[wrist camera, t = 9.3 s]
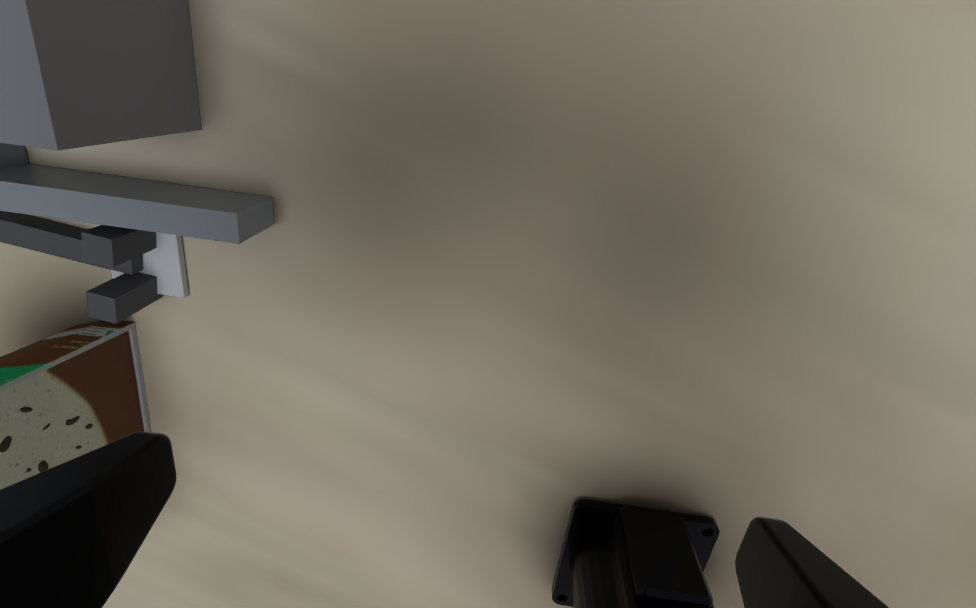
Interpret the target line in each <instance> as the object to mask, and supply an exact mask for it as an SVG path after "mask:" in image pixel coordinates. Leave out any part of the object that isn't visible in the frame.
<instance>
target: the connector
mask: <svg viewBox="0 0 976 608" xmlns="http://www.w3.org/2000/svg"><path fill="white" fill-rule="evenodd" d="M201 129H202V128H201V118H200V109H199V99H198V89H197V80H196V70H195V60H194V51H193V41H192V32H191V22H190V12H189V3H188V0H0V143H6V144H13V145H21V146H28V147H36V148H43V149H51V150H64V149H71V148H78V147H85V146H92V145H98V144H105V143H112V142H119V141H126V140H133V139H140V138H146V137H153V136H160V135H167V134H174V133H181V132H187V131H194V130H201Z"/></svg>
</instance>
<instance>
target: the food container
mask: <svg viewBox="0 0 976 608" xmlns="http://www.w3.org/2000/svg"><path fill="white" fill-rule="evenodd" d="M144 431H145V432H151V426H150V420H149V413H148V406H147V400H146V393H145V386H144V380H143V373H142V366H141V360H140V353H139V346H138V339H137V333H136V326H135V322H128V321H120V322H119V323H117V324H115V323H111V322H107V321H98V322H93V323H88V324H83V325H77V326H74V327H72V328H69V329H67V330H65V331H62V332H60V333H57V334H55V335H53V336H50V337H48V338H45V339H43V340H41V341H38V342H36V343H33V344H31V345H29V346H26V347H24V348H22V349H19V350H17V351H14V352H12V353H10V354H7V355H5V356H2V357H0V489H3V488H5V487H8V486H10V485H12V484H15V483H17V482H19V481H22V480H24V479H27V478H29V477H31V476H34V475H36V474H38V473H41V472H43V471H46V470H48V469H50V468H53V467H55V466H57V465H60V464H62V463H64V462H67V461H69V460H72V459H74V458H76V457H79V456H81V455H83V454H86V453H88V452H91V451H93V450H95V449H98V448H100V447H102V446H105V445H107V444H110V443H112V442H114V441H117V440H119V439H121V438H124V437H126V436H129V435H131V434H133V433H136V432H144Z"/></svg>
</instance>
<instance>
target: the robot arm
mask: <svg viewBox="0 0 976 608" xmlns="http://www.w3.org/2000/svg"><path fill="white" fill-rule="evenodd" d="M175 483H176V469H175V463H174V457H173V452H172V446H171V441H170V439H169V438H168V436H166V435H164V434H159V433H152V432H145V431H144V432H136V433H133V434H131V435H129V436H126V437H124V438H121V439H119V440H117V441H114V442H112V443H110V444H107V445H105V446H102V447H100V448H98V449H95V450H93V451H91V452H88V453H86V454H83V455H81V456H79V457H76V458H74V459H72V460H69V461H67V462H64V463H62V464H60V465H57V466H55V467H53V468H50V469H48V470H46V471H43V472H41V473H38V474H36V475H34V476H31V477H29V478H27V479H24V480H22V481H19V482H17V483H15V484H12V485H10V486H8V487H5V488H3V489H0V608H102V607H103V605H104V604H105V602H106V601H107V599H108V598H109V597H110V595H111V594H112V592H113V591H114V589H115V588H116V586H117V585H118V583H119V581H120V580H121V578H122V577H123V575H124V573H125V572H126V570H127V568H128V567H129V565H130V563H131V562H132V560H133V558H134V557H135V555H136V553H137V551H138V550H139V548H140V546H141V545H142V543H143V541H144V540H145V538H146V536H147V534H148V533H149V531H150V529H151V528H152V526H153V524H154V522H155V521H156V519H157V517H158V516H159V514H160V512H161V511H162V509H163V507H164V505H165V504H166V502H167V500H168V499H169V497H170V495H171V493H172V491H173V489H174V487H175ZM581 511H587V512H581ZM706 528H708V529H706ZM718 535H719V529H718V526H717V524H716V522H715V520H713V519H712V518H709V517H703V516H696V515H689V514H682V513H675V512H668V511H662V510H655V509H648V508H641V507H634V506H627V505H620V504H613V503H606V502H599V501H592V500H579V501H577V502H576V503H574V505H573V508H572V512H571V516H570V520H569V523H568V527H567V531H566V535H565V539H564V543H563V547H562V551H561V555H560V559H559V563H558V567H557V571H556V575H555V579H554V583H553V587H552V599H553V601H554V602H555V603H557V604H560V605H566V606H572V607H574V608H714V605H713V598H712V596H711V593H710V590H709V587H708V585H707V582H706V579H705V576H704V574H703V571H704V568H705V566H706V564H707V561H708V559H709V557H710V554H711V552H712V549H713V547H714V545H715V542H716V540H717V538H718ZM735 566H736V573H737V578H738V582H739V586H740V590H741V595H742V599H743V603H744V607H745V608H889V607H888V606H886V605H885V604H884V603H883V602H882V601H880V600H879V599H878V598H877V597H876V596H874V595H873V594H872V593H871V592H870V591H868V590H867V589H866V588H865V587H863V586H862V585H861V584H860V583H859V582H857V581H856V580H855V579H854V578H853V577H851V576H850V575H849V574H848V573H847V572H845V571H844V570H843V569H842V568H841V567H839V566H838V565H837V564H836V563H835V562H833V561H832V560H831V559H830V558H829V557H827V556H826V555H825V554H824V553H823V552H821V551H820V550H819V549H818V548H817V547H815V546H814V545H813V544H812V543H810V542H809V541H808V540H807V539H806V538H804V537H803V536H802V535H801V534H800V533H798V532H797V531H796V530H795V529H794V528H792V527H791V526H790V525H789V524H787V523H786V522H784V521H782V520H778V519H771V518H763V517H756V518H754V519H753V520H752V521H751V522H750V524H749V526H748V529H747V531H746V533H745V536H744V538H743V540H742V543H741V545H740V547H739V550H738V552H737V555H736V561H735Z"/></svg>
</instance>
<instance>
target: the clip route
mask: <svg viewBox="0 0 976 608" xmlns="http://www.w3.org/2000/svg"><path fill="white" fill-rule="evenodd" d="M0 242H3V243H7V244H11V245H15V246H19V247H23V248H27V249H31V250H35V251H39V252H43V253H47V254H51V255H55V256H59V257H63V258H67V259H70V260H74V261H78V262H82V263H86V264H90V265H94V266H98V267H102V268H106V269H110V270H111V274H112V280H110V281H107V282H105V283H103V284H101V285H99V286H97V287H95V288H93V289H91V290H89V291H86V296H87V308H88V317H91V318H95V319H99V320H103V321H107V322H111V323H115V324H117V323H119V322H120V321H122V320H124V319H126V318H127V317H129V316H131V315H132V314H134V313H136V312H137V311H139V310H141V309H142V308H144V307H146V306H147V305H149V304H151V303H153V302H154V301H156V300H158V299H159V298H161V297H162V295H168V296H175V297H183V298H185V297H186V296H188V295H189V292H188V284H187V276H186V268H185V260H184V252H183V244H182V237H181V236H179V235H172V234H165V233H158V232H151V231H143V230H136V229H129V228H122V227H114V226H107V225H101V226H98V227H95V228H92V229H89V230H85V229H81V228H77V227H73V226H69V225H65V224H61V223H57V222H53V221H49V220H45V219H41V218H38V217H34V216H30V215H26V214H21V213H14V212H6V211H0Z"/></svg>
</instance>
